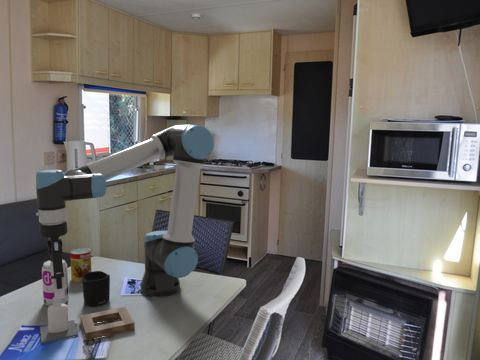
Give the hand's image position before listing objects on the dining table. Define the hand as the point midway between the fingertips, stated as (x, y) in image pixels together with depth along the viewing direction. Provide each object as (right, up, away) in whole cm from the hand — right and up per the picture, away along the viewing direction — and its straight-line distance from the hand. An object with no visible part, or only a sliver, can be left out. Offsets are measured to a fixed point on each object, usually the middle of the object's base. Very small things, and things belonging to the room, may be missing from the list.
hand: (58, 289), depth 123 cm
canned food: (-10, -8, +45) cm, 47 cm away
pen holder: (+4, -11, +23) cm, 26 cm away
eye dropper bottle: (-1, -13, +2) cm, 13 cm away
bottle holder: (+13, -13, +6) cm, 19 cm away
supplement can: (-11, -11, +22) cm, 27 cm away
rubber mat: (-1, -14, +2) cm, 14 cm away
